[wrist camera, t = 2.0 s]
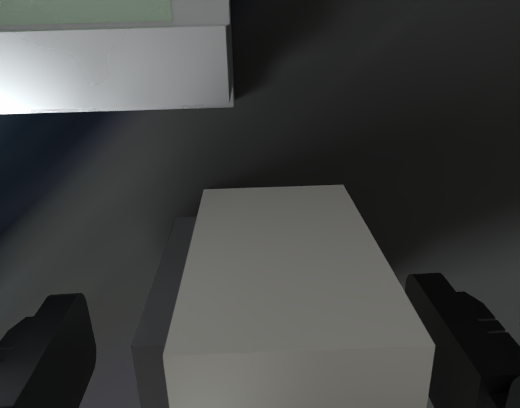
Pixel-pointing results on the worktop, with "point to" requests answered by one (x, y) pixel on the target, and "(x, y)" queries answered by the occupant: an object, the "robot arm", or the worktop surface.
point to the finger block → (279, 309)
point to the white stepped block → (115, 55)
